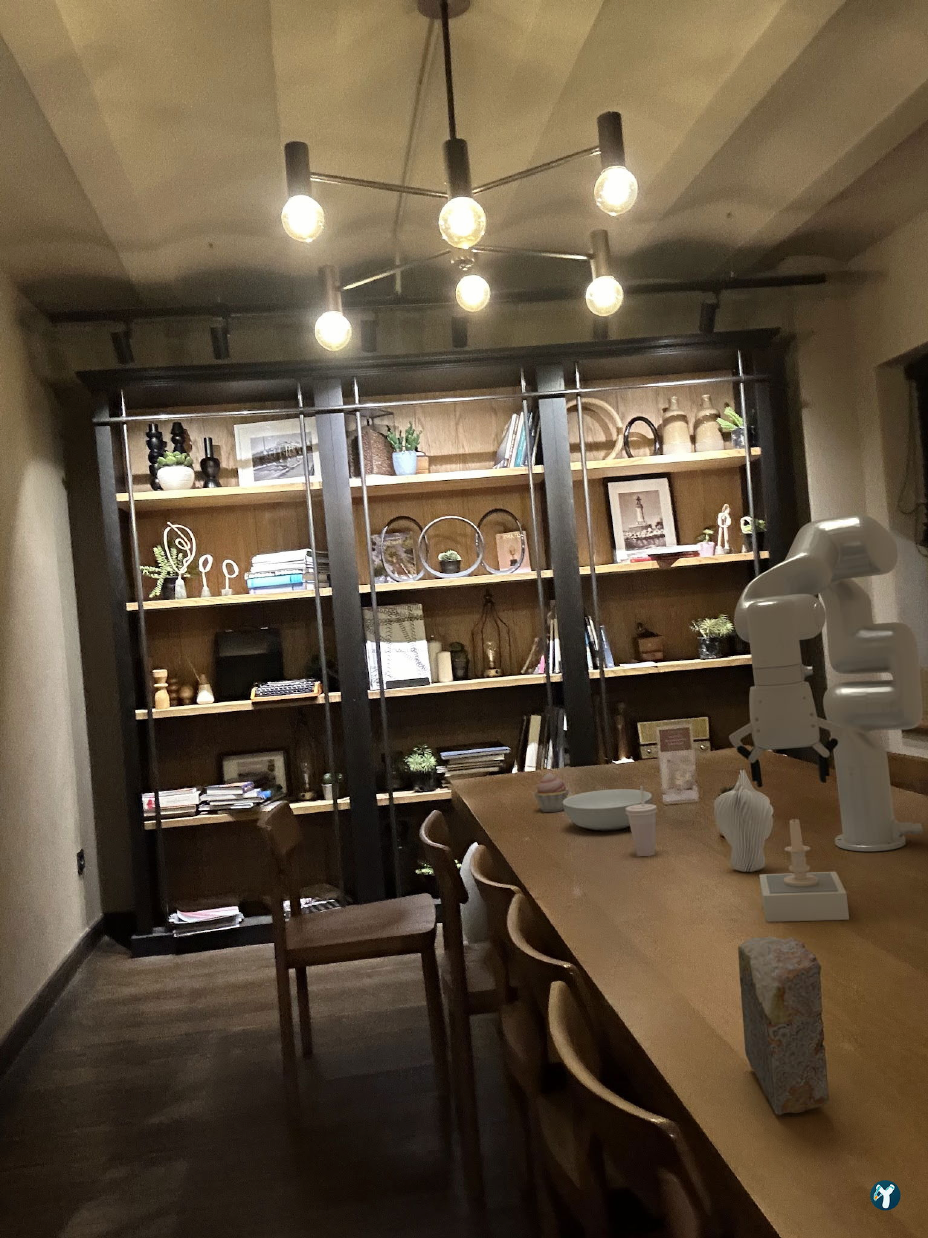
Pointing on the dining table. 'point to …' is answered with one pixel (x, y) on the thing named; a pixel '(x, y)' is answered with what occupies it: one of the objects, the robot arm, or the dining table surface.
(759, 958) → the geological specimen
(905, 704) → the robot arm
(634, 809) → the smoothie
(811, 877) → the candle
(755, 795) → the shell sculpture
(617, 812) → the serving bowl
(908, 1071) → the dining table surface
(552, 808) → the cupcake
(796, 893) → the plinth
